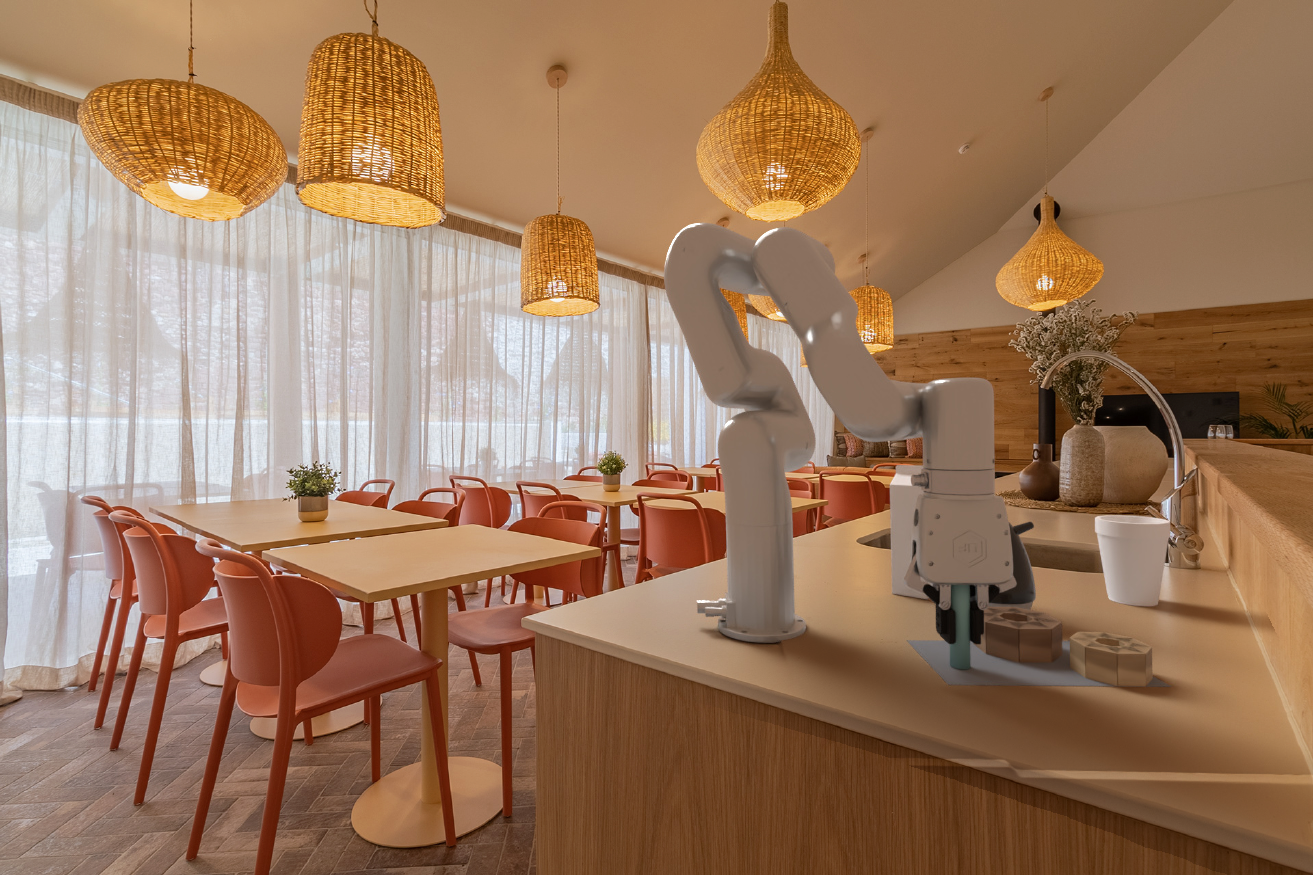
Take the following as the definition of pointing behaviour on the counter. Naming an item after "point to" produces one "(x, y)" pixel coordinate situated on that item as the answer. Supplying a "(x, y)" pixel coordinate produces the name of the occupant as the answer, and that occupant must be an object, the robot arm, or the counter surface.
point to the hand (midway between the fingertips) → (959, 638)
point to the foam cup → (1133, 557)
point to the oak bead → (1111, 658)
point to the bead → (1021, 635)
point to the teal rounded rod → (961, 627)
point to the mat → (1006, 668)
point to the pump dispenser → (1018, 574)
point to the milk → (903, 527)
